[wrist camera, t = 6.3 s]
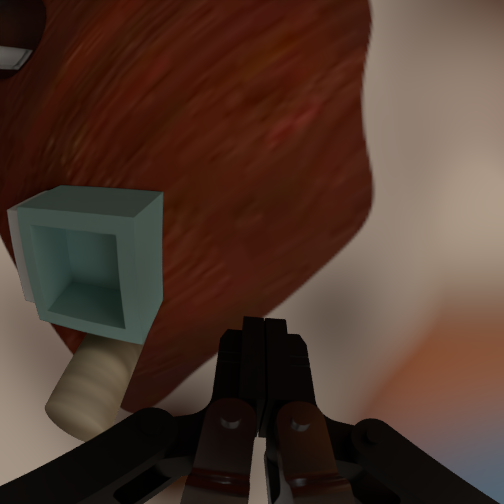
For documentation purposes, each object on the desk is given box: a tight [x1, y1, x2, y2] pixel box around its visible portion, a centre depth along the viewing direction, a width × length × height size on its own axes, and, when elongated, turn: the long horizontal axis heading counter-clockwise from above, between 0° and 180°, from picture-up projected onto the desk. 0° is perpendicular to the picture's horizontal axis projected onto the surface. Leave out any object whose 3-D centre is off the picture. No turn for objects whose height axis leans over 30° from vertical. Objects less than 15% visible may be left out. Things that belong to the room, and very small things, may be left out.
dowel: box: [45, 333, 147, 442], centre depth 16 cm, size 4×4×9 cm
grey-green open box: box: [16, 185, 163, 345], centre depth 16 cm, size 7×7×4 cm
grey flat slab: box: [7, 191, 47, 303], centre depth 16 cm, size 6×1×4 cm, turn 173°
